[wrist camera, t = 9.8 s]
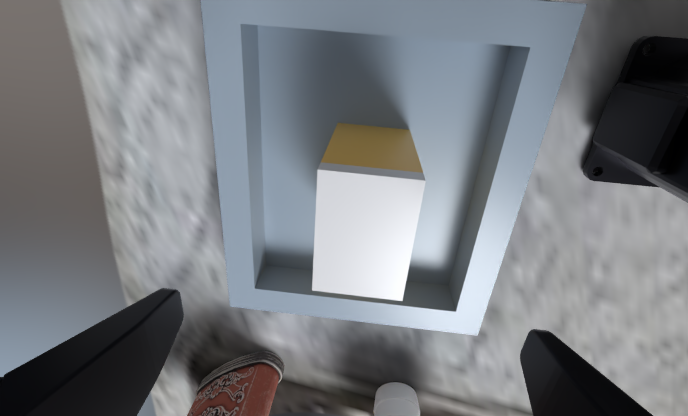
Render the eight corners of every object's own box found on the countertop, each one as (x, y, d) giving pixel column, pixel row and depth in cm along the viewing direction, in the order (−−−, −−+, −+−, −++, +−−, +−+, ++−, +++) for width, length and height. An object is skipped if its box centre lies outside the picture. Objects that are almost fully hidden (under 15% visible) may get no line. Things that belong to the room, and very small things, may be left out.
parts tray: (550, 8, 15) (587, 3, 12) (465, 299, 22) (477, 335, 20) (228, -17, 16) (197, -26, 13) (247, 274, 23) (229, 306, 20)
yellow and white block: (409, 129, 17) (425, 180, 11) (395, 220, 19) (402, 301, 14) (337, 122, 17) (317, 169, 12) (331, 213, 20) (311, 290, 14)
